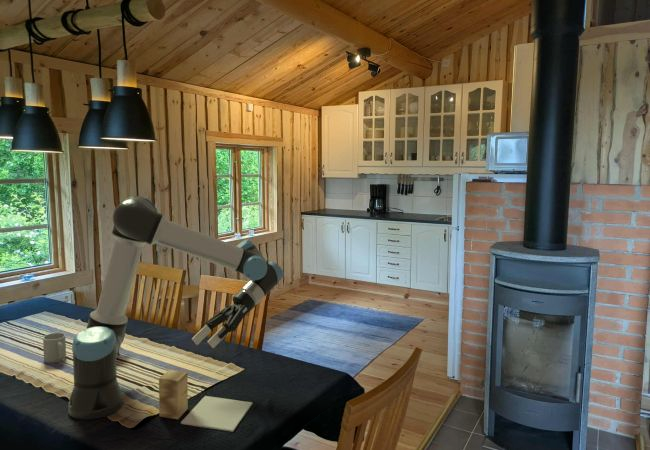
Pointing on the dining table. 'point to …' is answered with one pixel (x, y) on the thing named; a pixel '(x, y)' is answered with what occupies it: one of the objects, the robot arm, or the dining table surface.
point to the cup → (54, 347)
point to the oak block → (173, 394)
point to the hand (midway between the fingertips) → (201, 343)
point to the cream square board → (217, 413)
